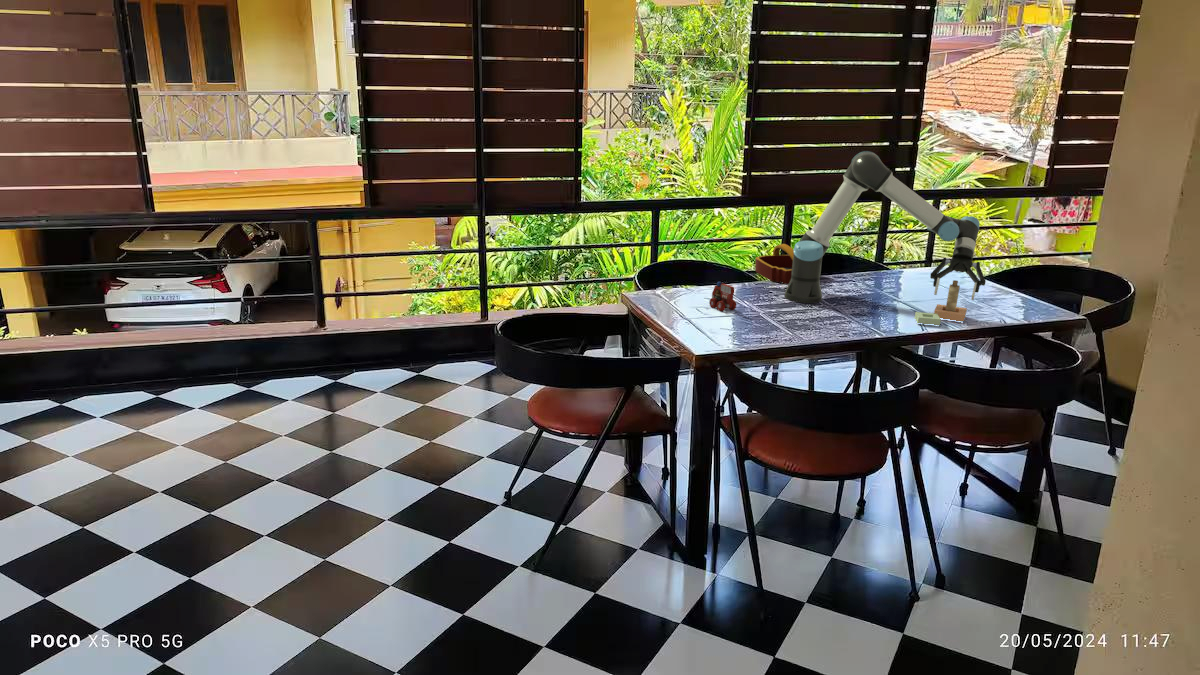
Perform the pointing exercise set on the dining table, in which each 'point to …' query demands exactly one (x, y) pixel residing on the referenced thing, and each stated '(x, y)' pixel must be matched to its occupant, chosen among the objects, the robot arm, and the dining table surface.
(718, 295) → the toy fire truck
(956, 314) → the orange square frame
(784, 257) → the decorative basket
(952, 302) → the peg block
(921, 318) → the green square ring
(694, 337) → the dining table surface
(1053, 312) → the dining table surface
